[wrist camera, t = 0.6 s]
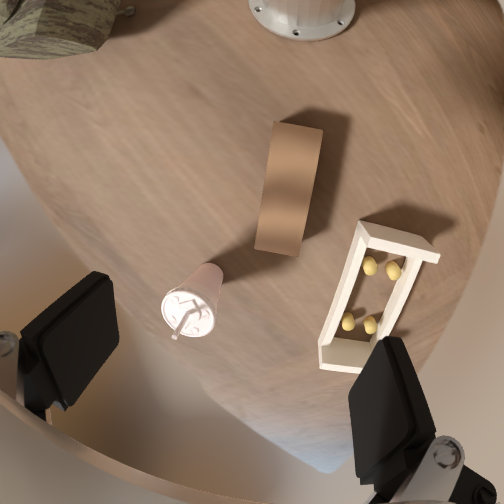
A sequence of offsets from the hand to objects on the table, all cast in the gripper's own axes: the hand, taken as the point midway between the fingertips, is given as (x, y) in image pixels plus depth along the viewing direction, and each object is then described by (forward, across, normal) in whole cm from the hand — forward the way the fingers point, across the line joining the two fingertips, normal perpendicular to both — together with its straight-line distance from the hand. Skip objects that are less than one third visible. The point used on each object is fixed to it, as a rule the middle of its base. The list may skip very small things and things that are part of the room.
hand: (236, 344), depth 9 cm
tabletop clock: (+26, +29, -21) cm, 44 cm away
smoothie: (+27, +7, +13) cm, 30 cm away
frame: (+26, -15, +10) cm, 32 cm away
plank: (+26, -1, -2) cm, 27 cm away
